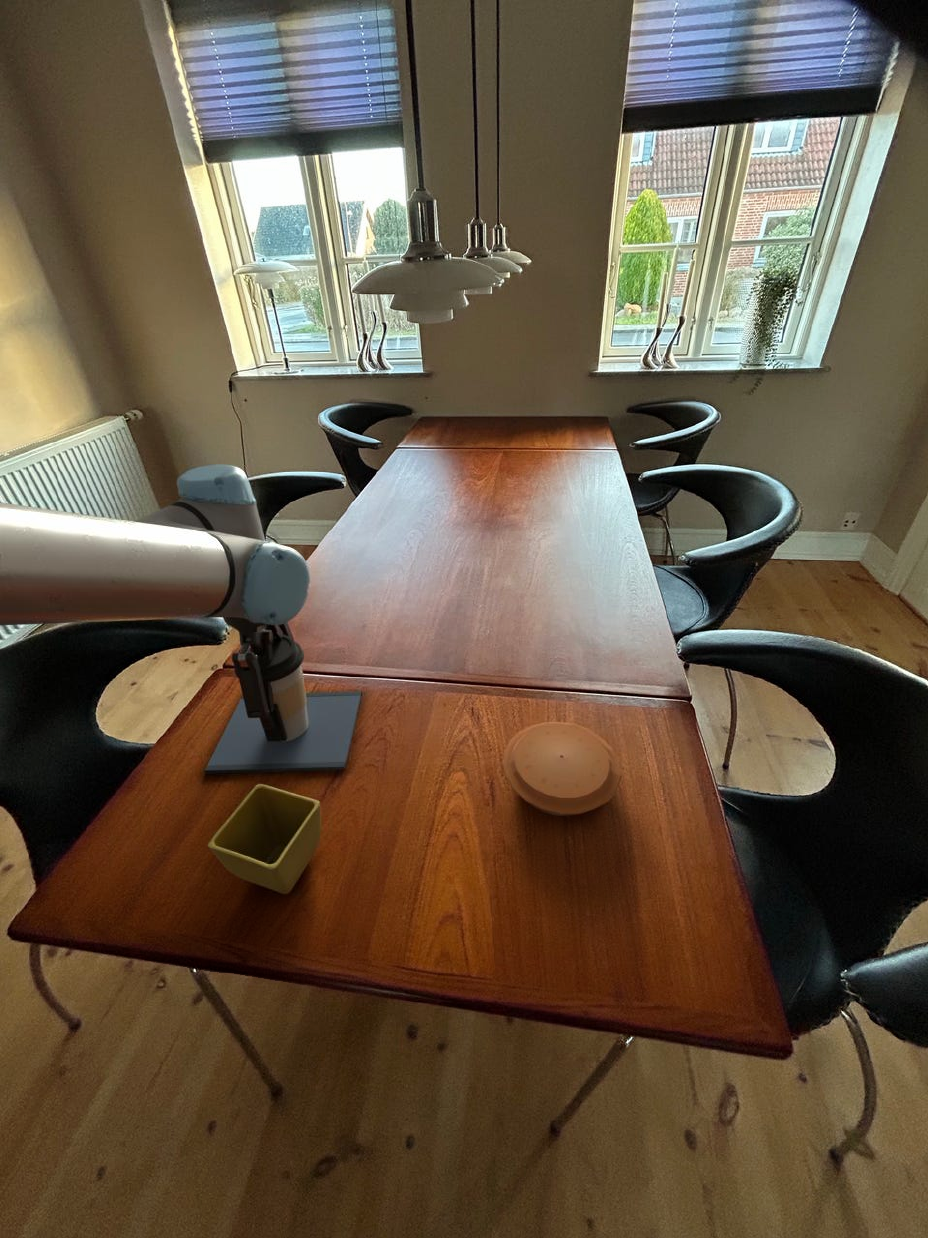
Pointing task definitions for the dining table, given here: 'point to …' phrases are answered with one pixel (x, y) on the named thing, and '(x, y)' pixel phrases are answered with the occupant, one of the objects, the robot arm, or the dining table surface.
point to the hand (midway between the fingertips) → (286, 717)
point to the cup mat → (308, 752)
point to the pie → (561, 768)
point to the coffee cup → (287, 685)
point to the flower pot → (269, 838)
